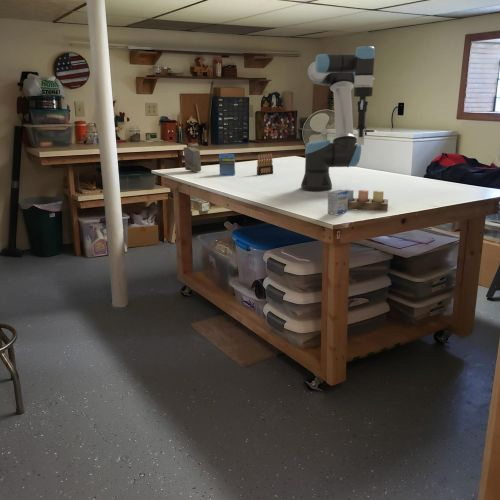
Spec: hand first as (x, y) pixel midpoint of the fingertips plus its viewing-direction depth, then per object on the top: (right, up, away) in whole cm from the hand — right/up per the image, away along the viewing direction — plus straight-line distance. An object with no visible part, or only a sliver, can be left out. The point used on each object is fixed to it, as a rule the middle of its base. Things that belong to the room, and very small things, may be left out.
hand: (360, 144), depth 220 cm
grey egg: (-6, -25, -5) cm, 27 cm away
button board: (0, -27, -6) cm, 28 cm away
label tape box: (-60, -1, +82) cm, 101 cm away
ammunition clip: (-38, -1, +82) cm, 90 cm away
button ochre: (+5, -26, -8) cm, 28 cm away
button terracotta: (0, -26, -6) cm, 26 cm away
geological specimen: (-82, +2, +93) cm, 124 cm away
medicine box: (-12, -30, -14) cm, 35 cm away
